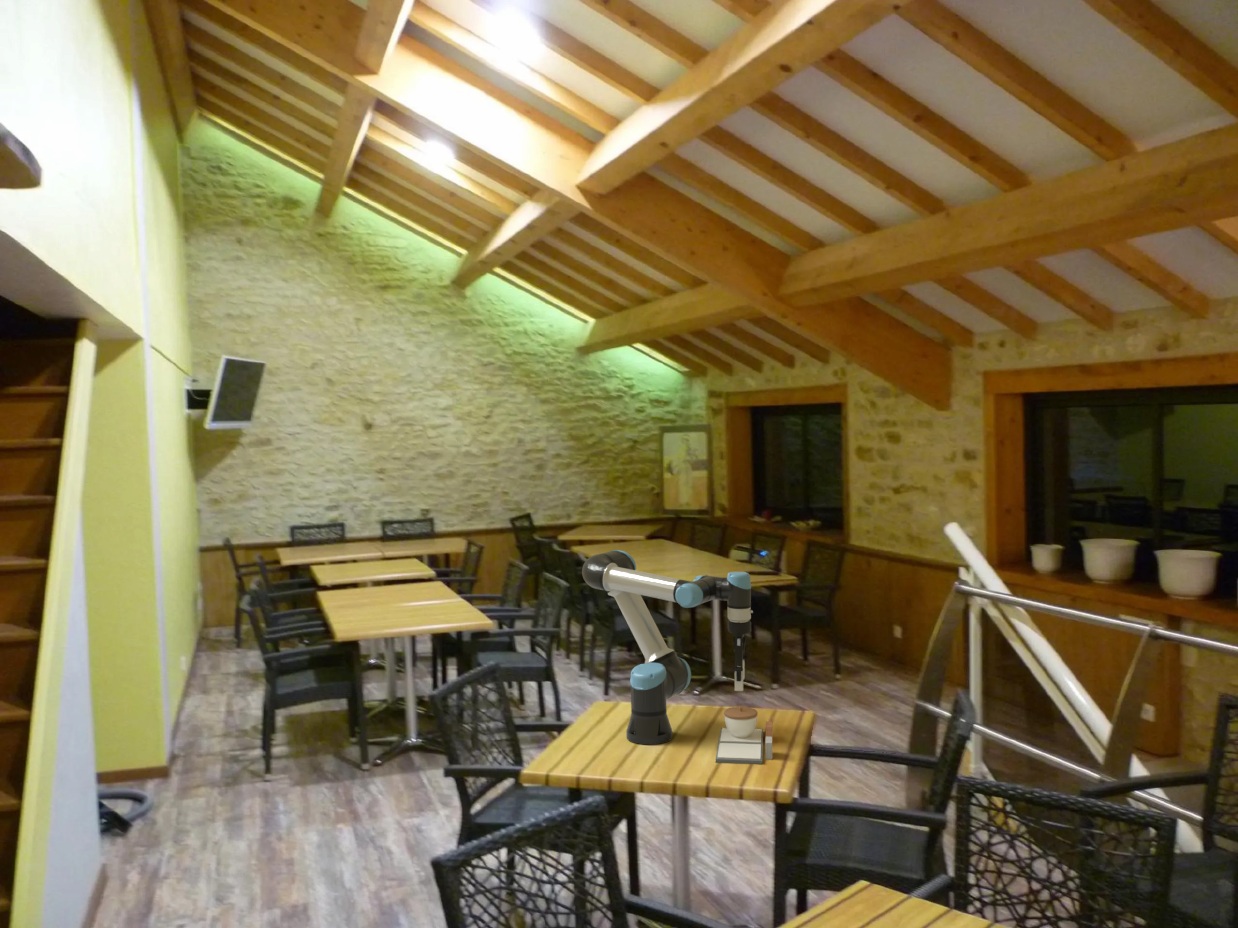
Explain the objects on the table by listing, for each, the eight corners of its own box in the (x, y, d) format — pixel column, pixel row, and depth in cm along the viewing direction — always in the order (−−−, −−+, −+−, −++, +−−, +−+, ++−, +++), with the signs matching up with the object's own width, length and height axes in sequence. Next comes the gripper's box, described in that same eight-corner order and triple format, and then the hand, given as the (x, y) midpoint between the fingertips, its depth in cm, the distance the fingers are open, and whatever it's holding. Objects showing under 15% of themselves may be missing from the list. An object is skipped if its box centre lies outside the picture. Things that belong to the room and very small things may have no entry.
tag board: (715, 762, 289) (715, 746, 289) (721, 730, 319) (720, 715, 319) (772, 764, 286) (772, 747, 286) (772, 732, 316) (772, 717, 316)
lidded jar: (720, 738, 307) (720, 709, 307) (729, 728, 317) (728, 700, 317) (753, 741, 303) (753, 712, 303) (761, 731, 313) (760, 703, 313)
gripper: (750, 628, 296) (750, 696, 297) (751, 612, 320) (752, 674, 321) (725, 628, 297) (726, 695, 298) (729, 611, 321) (729, 673, 323)
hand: (739, 684), depth 310 cm, fingers open, 13 cm apart
